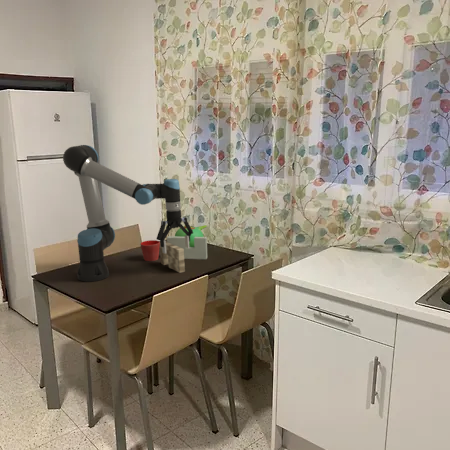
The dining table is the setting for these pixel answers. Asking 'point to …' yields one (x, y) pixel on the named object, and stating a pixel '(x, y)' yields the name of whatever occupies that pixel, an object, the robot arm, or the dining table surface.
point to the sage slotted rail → (192, 252)
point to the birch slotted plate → (173, 257)
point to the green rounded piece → (196, 233)
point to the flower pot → (150, 250)
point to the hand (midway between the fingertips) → (176, 250)
